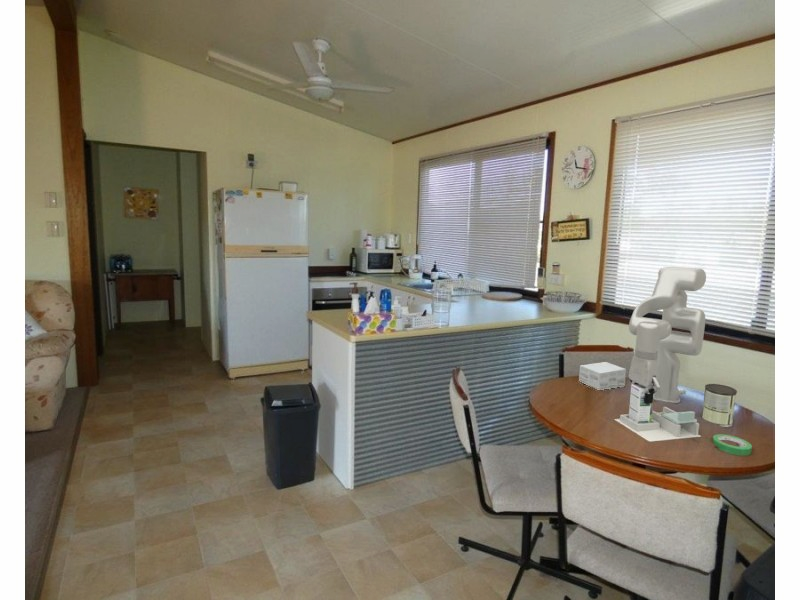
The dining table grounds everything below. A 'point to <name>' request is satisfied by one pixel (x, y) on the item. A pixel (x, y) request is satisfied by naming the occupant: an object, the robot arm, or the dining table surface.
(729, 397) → the coffee can
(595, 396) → the dining table surface
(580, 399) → the dining table surface
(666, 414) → the lid
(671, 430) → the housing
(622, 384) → the supplement box
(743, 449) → the tape roll
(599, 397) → the dining table surface
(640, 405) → the syrup box
